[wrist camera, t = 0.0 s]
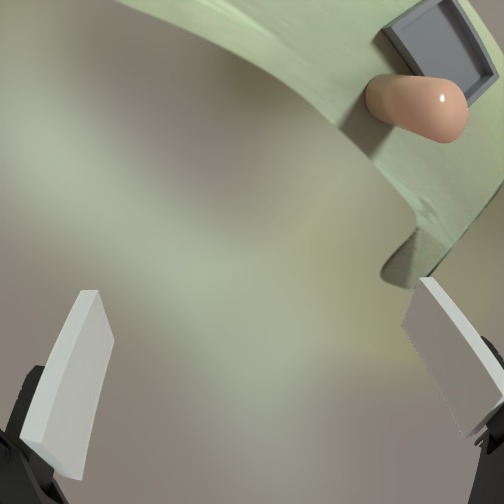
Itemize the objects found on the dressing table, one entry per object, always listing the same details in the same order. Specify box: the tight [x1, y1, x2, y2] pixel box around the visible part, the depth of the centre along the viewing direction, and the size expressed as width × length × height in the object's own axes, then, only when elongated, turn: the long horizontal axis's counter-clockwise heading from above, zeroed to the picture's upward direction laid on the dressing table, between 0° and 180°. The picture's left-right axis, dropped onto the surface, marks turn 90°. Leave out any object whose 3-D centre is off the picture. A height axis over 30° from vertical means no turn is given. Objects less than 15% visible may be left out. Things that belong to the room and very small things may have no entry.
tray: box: [382, 0, 499, 108], centre depth 29 cm, size 15×13×2 cm
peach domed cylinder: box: [365, 74, 468, 143], centre depth 29 cm, size 6×6×12 cm
